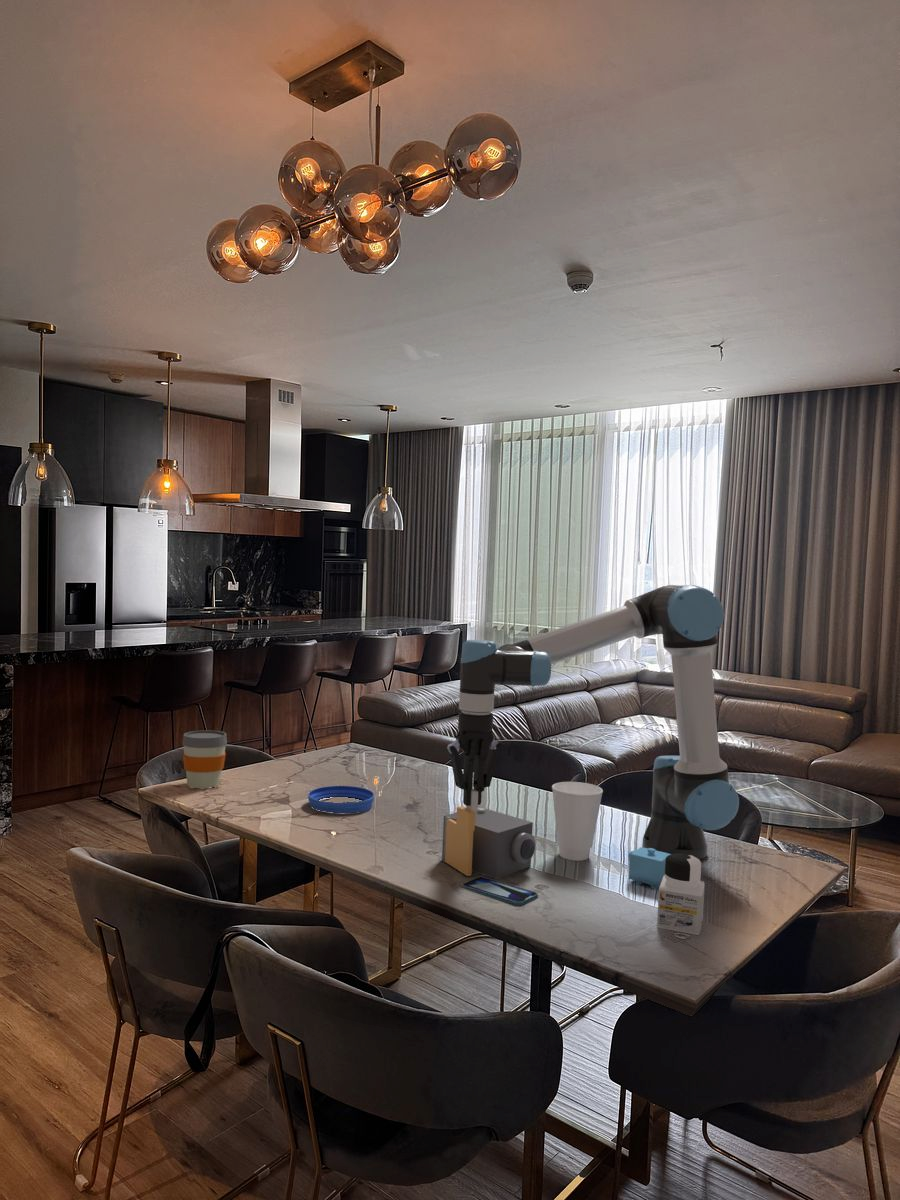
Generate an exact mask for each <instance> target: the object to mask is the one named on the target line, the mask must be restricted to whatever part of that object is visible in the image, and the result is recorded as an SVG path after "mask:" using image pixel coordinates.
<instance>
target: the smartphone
mask: <svg viewBox="0 0 900 1200" xmlns="http://www.w3.org/2000/svg"><path fill="white" fill-rule="evenodd" d="M461 887H462V888H463V889H467V890H470V891H472V892H476V893H478V894H480V895H484V896H486V897H490V898H493V899H496V900H499V901H501V902H504V903H507V904H511V905H514V906H518V907H519V906H523V905H525V904H527V903H529V902H531V901H534V900H535V899H537V898H538V897H539V896H538V895H539V894H538V892H536V891H532V890H529V889H527V888H522V887H520V886H515V885H513V884H509V883H506V882H503V881H499V880H497V879H493V878H490V877H489V878H488V877H485V876H477V877H475V878H473V879H470V880H467V881H465V882H463V883H461Z"/></svg>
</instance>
